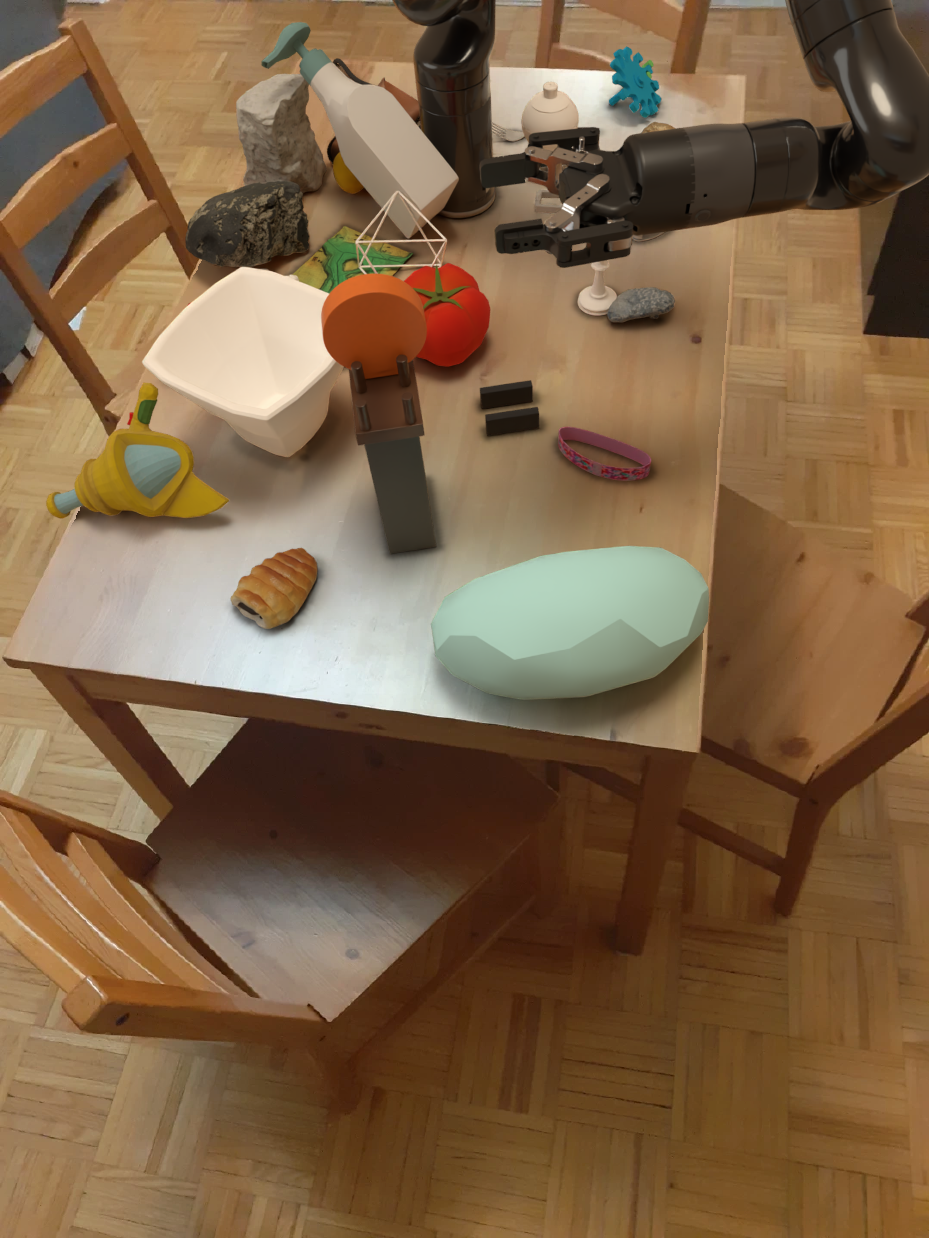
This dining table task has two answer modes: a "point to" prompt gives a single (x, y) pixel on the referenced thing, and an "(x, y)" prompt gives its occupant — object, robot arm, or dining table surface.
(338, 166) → the doorknob
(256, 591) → the pastry
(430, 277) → the tomato
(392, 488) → the stand block
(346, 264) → the terrain map
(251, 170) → the decorative stone
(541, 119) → the spinning top
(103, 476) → the toy
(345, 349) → the disc
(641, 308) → the fossil
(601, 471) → the headband
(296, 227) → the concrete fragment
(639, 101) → the gear
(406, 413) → the rack
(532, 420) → the black blocks
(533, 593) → the decorative stone
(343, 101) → the soap bottle
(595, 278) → the chess piece
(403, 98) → the sunglasses case
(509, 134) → the fork
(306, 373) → the bowl
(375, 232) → the geometric polyhedron
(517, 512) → the dining table surface
